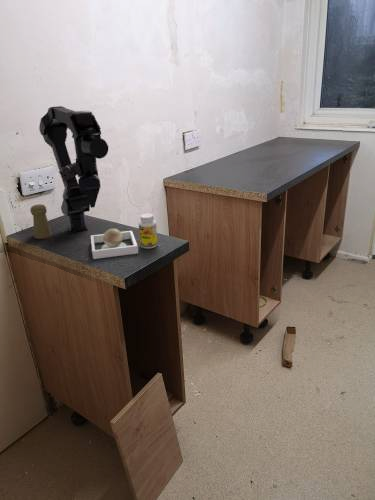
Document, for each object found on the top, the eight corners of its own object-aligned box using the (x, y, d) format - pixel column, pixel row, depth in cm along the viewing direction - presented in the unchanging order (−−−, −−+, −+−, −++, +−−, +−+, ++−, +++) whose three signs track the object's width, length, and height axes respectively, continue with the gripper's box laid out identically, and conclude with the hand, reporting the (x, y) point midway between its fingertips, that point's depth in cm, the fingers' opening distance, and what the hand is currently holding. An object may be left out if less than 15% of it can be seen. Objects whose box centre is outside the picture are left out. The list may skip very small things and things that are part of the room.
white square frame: (91, 242, 132) (90, 235, 131) (132, 237, 135) (131, 230, 134) (93, 259, 120) (92, 251, 119) (138, 253, 122) (137, 245, 121)
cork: (46, 231, 143) (40, 201, 138) (55, 234, 139) (50, 204, 135) (30, 236, 139) (24, 206, 134) (40, 240, 135) (34, 209, 131)
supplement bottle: (136, 247, 127) (134, 217, 123) (146, 241, 131) (144, 211, 127) (151, 250, 124) (149, 219, 120) (161, 244, 129) (159, 214, 125)
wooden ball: (122, 242, 130) (120, 225, 128) (124, 248, 125) (122, 230, 123) (103, 244, 129) (101, 227, 127) (105, 251, 124) (102, 233, 121)
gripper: (59, 151, 128) (66, 198, 134) (56, 162, 112) (65, 214, 118) (94, 148, 131) (100, 194, 137) (97, 158, 114) (103, 210, 120)
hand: (92, 203), depth 128 cm, fingers open, 9 cm apart
